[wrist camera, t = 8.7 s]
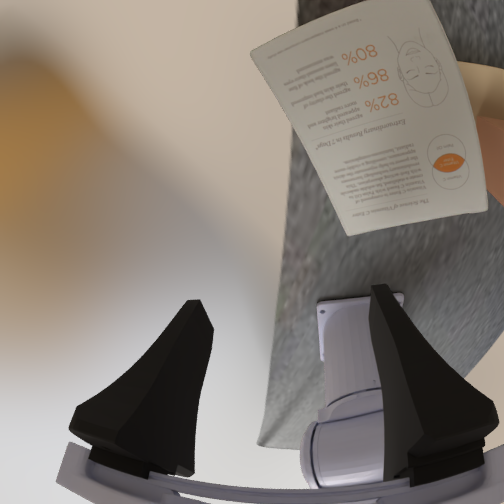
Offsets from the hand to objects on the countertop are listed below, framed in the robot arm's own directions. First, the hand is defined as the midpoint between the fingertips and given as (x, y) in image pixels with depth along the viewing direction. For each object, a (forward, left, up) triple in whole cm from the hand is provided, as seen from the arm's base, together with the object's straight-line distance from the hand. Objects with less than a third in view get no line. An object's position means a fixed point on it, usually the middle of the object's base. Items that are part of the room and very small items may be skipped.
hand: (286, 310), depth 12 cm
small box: (+12, -4, -6) cm, 14 cm away
